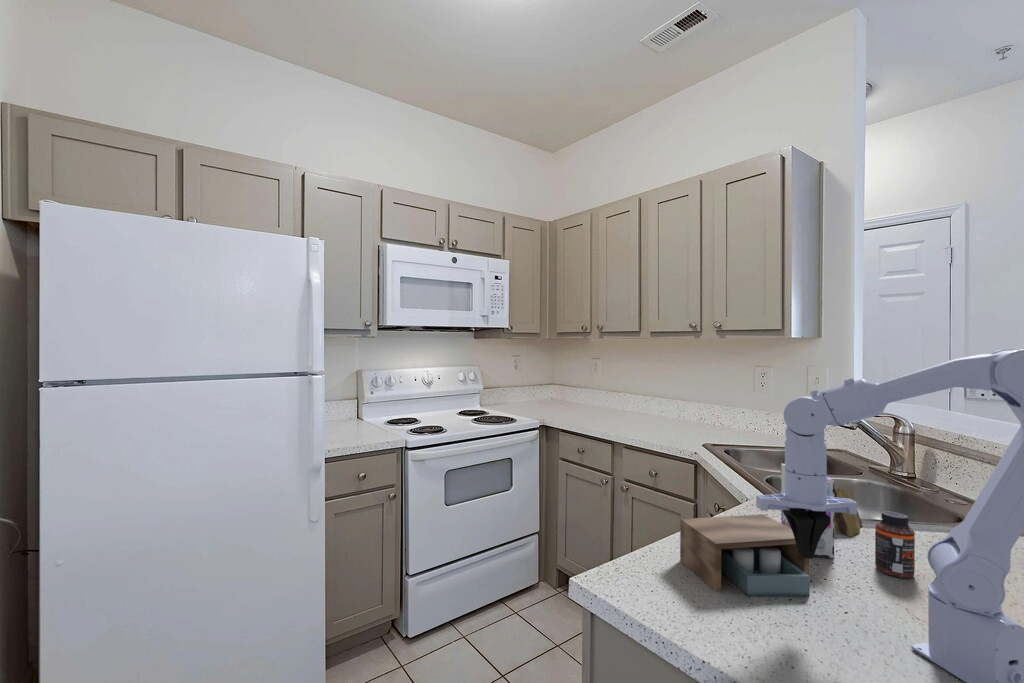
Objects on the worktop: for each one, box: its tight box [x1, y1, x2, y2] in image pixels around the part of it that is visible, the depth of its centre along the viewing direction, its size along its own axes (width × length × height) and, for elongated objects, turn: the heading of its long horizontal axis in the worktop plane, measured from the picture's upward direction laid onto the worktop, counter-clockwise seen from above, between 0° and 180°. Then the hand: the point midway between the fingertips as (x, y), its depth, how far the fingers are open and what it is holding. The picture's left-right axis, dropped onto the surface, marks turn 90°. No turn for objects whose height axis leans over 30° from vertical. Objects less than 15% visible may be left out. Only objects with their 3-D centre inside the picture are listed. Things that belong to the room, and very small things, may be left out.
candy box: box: [780, 463, 835, 559], centre depth 102 cm, size 14×6×16 cm, turn 168°
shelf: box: [679, 513, 810, 593], centre depth 89 cm, size 12×19×8 cm, turn 100°
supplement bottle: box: [874, 510, 916, 579], centre depth 89 cm, size 6×6×11 cm
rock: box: [834, 487, 863, 538], centre depth 111 cm, size 11×9×10 cm
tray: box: [721, 546, 810, 597], centre depth 86 cm, size 12×11×5 cm
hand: (805, 555), depth 74 cm, fingers closed
